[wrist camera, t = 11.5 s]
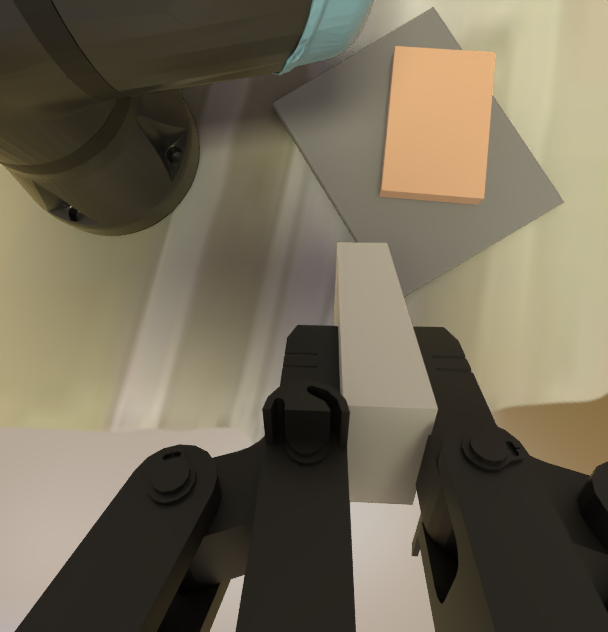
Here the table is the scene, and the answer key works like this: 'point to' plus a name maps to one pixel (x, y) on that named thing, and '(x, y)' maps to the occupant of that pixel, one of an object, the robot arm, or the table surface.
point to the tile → (437, 125)
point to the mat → (367, 153)
